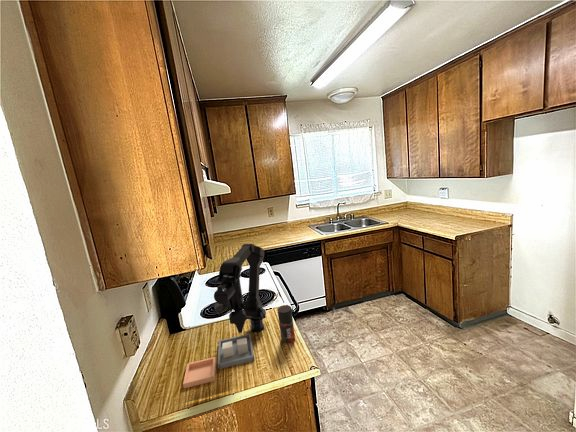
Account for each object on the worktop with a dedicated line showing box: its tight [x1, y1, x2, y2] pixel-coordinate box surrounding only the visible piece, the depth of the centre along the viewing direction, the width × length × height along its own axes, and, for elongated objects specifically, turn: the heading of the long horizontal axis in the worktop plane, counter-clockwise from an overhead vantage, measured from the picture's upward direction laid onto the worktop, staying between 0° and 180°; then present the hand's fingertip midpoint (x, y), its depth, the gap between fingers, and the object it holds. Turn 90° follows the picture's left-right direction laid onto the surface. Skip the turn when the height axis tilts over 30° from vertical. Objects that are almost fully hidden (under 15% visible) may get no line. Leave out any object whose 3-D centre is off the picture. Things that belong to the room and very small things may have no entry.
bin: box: [217, 332, 255, 370], centre depth 113 cm, size 16×14×2 cm
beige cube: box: [222, 341, 234, 358], centre depth 112 cm, size 4×4×4 cm
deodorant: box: [277, 304, 296, 345], centre depth 116 cm, size 6×6×15 cm
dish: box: [182, 356, 217, 389], centre depth 103 cm, size 11×11×2 cm
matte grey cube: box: [237, 338, 248, 354], centre depth 113 cm, size 4×4×4 cm
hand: (239, 326), depth 112 cm, fingers open, 9 cm apart
